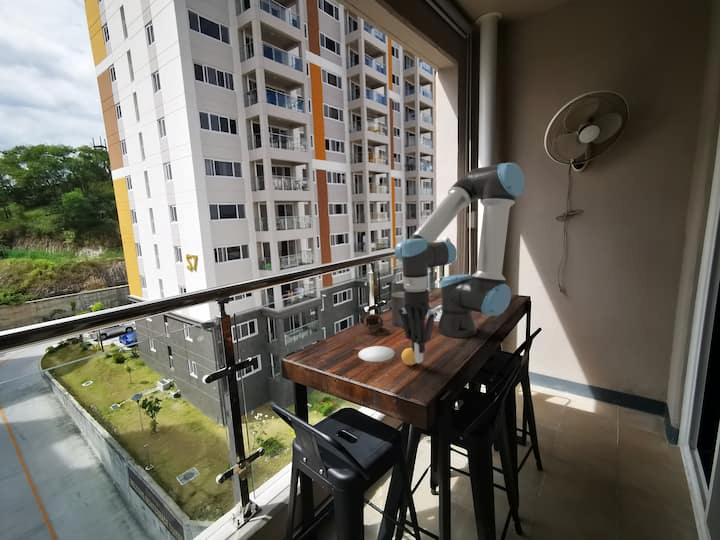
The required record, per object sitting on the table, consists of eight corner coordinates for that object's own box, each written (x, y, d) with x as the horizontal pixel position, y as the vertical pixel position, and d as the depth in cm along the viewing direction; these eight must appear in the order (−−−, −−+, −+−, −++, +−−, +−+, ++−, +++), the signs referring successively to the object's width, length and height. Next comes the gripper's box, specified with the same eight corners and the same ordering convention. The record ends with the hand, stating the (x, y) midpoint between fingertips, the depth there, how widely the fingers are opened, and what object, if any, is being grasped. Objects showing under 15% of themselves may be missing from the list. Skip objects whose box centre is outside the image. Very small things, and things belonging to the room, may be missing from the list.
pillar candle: (387, 324, 148) (386, 292, 145) (401, 318, 154) (400, 287, 151) (404, 329, 140) (402, 295, 138) (418, 323, 147) (417, 290, 144)
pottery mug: (388, 328, 143) (387, 316, 138) (377, 344, 138) (376, 331, 132) (365, 319, 149) (364, 306, 144) (354, 333, 143) (351, 321, 138)
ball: (411, 361, 110) (405, 346, 110) (424, 360, 106) (418, 344, 106) (401, 368, 106) (396, 352, 106) (414, 367, 102) (408, 350, 103)
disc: (374, 344, 126) (374, 343, 126) (402, 351, 117) (402, 351, 117) (350, 355, 116) (350, 355, 116) (379, 365, 108) (379, 364, 107)
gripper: (391, 289, 102) (395, 360, 106) (428, 293, 93) (431, 371, 97) (405, 285, 108) (408, 352, 111) (441, 288, 99) (443, 361, 103)
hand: (419, 361), depth 104 cm, fingers closed
